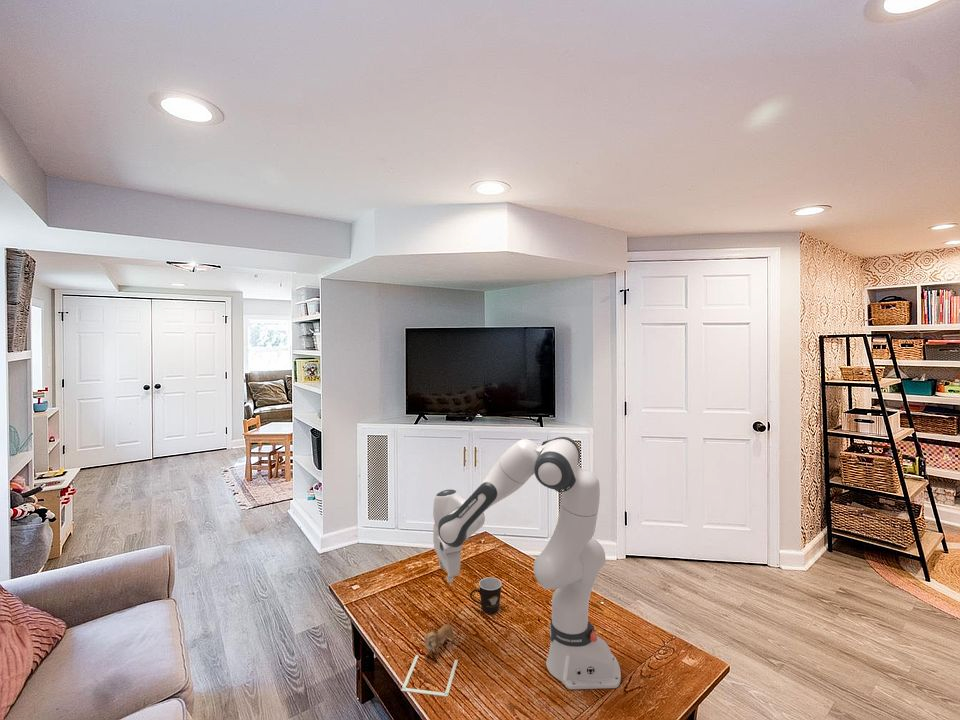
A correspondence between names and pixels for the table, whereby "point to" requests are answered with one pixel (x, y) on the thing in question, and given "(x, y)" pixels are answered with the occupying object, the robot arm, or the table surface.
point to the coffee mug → (489, 594)
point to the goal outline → (425, 690)
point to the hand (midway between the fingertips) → (446, 574)
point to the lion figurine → (438, 638)
